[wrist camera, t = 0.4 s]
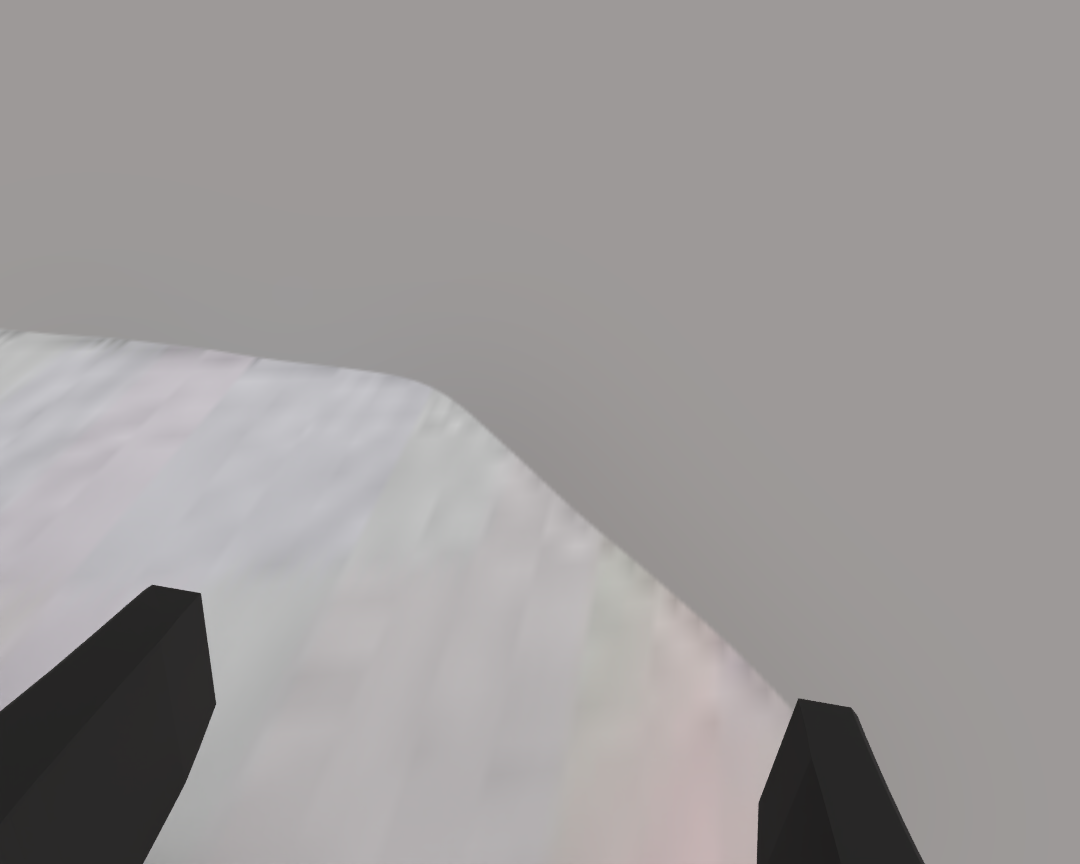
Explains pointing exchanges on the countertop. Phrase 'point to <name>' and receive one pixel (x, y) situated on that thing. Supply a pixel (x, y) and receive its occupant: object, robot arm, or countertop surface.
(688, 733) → the countertop surface
